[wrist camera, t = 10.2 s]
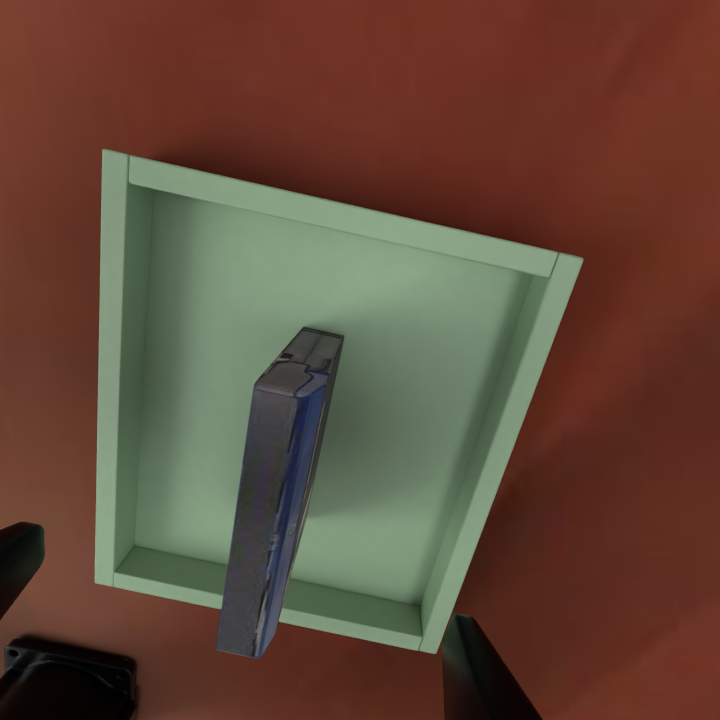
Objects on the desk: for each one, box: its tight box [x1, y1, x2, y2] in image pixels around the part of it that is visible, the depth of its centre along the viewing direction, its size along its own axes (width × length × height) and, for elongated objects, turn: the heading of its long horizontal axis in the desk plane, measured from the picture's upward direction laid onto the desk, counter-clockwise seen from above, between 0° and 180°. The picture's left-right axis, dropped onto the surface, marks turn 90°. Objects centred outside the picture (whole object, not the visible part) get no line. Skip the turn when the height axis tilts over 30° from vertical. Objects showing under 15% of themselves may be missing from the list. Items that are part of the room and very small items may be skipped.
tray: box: [95, 149, 583, 654], centre depth 15 cm, size 15×17×2 cm
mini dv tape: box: [216, 326, 345, 659], centre depth 13 cm, size 8×2×6 cm, turn 168°
